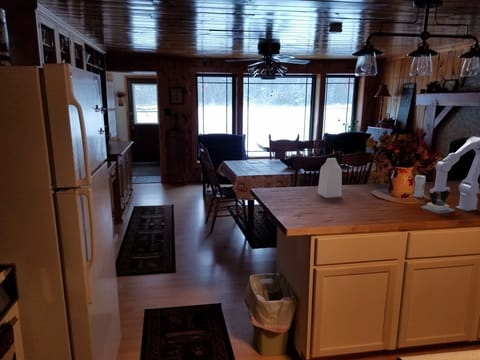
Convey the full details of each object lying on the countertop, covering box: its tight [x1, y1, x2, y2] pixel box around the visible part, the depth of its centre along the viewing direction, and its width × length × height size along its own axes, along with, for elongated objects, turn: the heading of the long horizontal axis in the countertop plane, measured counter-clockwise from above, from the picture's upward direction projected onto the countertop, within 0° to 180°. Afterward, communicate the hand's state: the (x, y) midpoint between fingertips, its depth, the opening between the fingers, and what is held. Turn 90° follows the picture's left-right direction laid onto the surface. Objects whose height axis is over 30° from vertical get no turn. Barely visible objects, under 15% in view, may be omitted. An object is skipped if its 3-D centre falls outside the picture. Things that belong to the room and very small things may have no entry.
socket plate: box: [420, 202, 456, 215], centre depth 223 cm, size 13×13×4 cm
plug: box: [434, 198, 445, 206], centre depth 223 cm, size 4×4×5 cm
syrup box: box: [412, 174, 426, 199], centre depth 252 cm, size 6×6×14 cm
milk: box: [317, 157, 343, 199], centre depth 254 cm, size 12×12×26 cm
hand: (438, 203), depth 223 cm, fingers open, 7 cm apart
